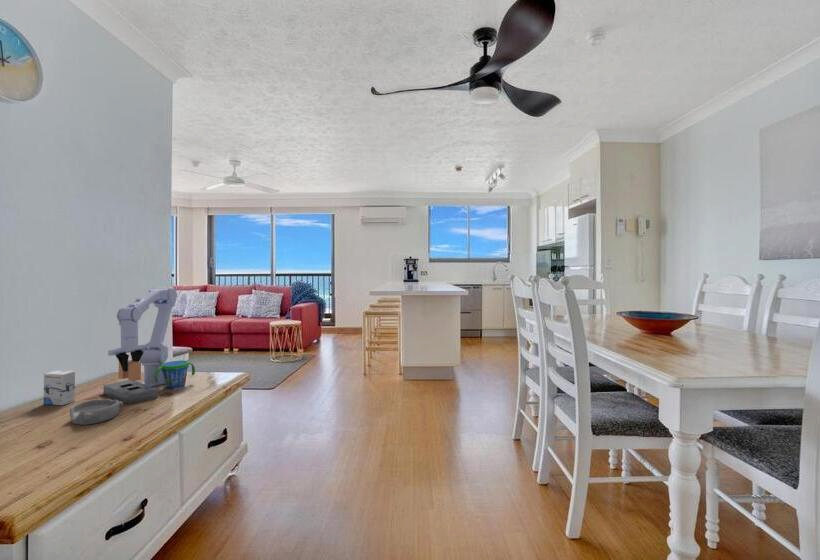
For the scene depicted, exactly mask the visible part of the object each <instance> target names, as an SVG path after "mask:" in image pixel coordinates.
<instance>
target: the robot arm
mask: <svg viewBox="0 0 820 560" xmlns="http://www.w3.org/2000/svg"><path fill="white" fill-rule="evenodd" d="M177 298H178V293H177V290H176V287H155V286H154V287H151V288H149V290H148V293H147V294H146V295H144V297H143V298H139V297H137V298H135V300H134V301H133V302H132V303H129V304H128V306H122V307H121V308H119V309H118V311H117V314H116V319H117V321H118V325H119V326H120V347H118V348H115V349H108V351H107V354H108V356H110V357H112V356H115V357H116V359H117V360H118V363H119V362H120V364H121V367H122V370H123V371H125V372H126V371H127V370H128V360H129V357H131V360H132V361H137V362H141V366H143V382H141V383H142V384H145V385H148V386H150V387H155V386H160V385H164V384H165V381H164V375H163V372H162V369H160V370H159V371H158V372H157V380H158V382H156V381H155V378H154V376H155V372H156V370H157V369H158V368H159V367H160V366H161V365H162V364H163V363H166V362H167V360H168V357H169V347H168V346H167V345H166V344H165V343H164V342H165V337H166V334H167V328H168V325H169V321H170V318H171V314H172V309H173V307H176V301H177ZM151 304H153V306H154V307H155V308H157V309H158V310H157V314H156V318H155V322H154V324H153V329H152V334H151V337H150V339H149V340H150V341H148V342H146V343H145V344H139V321H140V320H141V319H142V315H143V314H144V313H145V312H146V311H147V310H148V309H150V305H151ZM128 353H130V354H128Z"/></svg>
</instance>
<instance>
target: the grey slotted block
mask: <svg viewBox="0 0 820 560" xmlns="http://www.w3.org/2000/svg"><path fill="white" fill-rule="evenodd" d="M142 383H143V382H139V381H138V380H136V381H130V380H128V379H127V380H123V381H118V382H112V383H108V384H103V394H104V395H106V396H108V397H111V398H112V399H114V400H118V401H119V402H120V401H122V402H123V404H126V405H133V404H137V403H141V402H147V401H149V400H153V399H157V398H158V388H156V387H154V386H151V387H150V386H148V385H145V384H142Z"/></svg>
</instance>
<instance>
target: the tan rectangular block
mask: <svg viewBox="0 0 820 560" xmlns="http://www.w3.org/2000/svg"><path fill="white" fill-rule="evenodd" d="M117 378H118V379H122V380H124V379H127V380H130V381H140V380H141V378H142V363H141V362H140V361H139V362H137V361H132V359H131V360H130V359H128V370H127V371H126V372H125V371H123V370H122V367H121V364H120V362H119V361H118V377H117Z"/></svg>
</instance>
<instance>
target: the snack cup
mask: <svg viewBox="0 0 820 560" xmlns="http://www.w3.org/2000/svg"><path fill="white" fill-rule="evenodd" d="M189 365H191V375H192V376H194V375H195V373H196V367H195V365H194V364H193V363H192V362H189V361H188V360H172V361H168V362H167V361H166V363H163V364H162V365H161V366H160V367H159V368H158V369H157V370H156V372H155V376H154V378H155V381H156V382H158V380H157V372H158V371H159V370H160V369H162V372H163V375H164V381H165V388H169V389H176V387H177V388H180V387H183V386H185V385H186V381H187V374H188V368H189Z"/></svg>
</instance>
